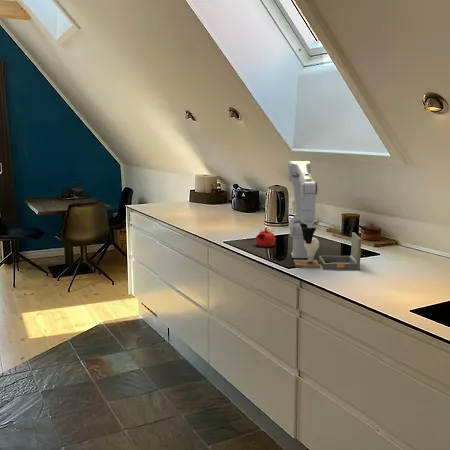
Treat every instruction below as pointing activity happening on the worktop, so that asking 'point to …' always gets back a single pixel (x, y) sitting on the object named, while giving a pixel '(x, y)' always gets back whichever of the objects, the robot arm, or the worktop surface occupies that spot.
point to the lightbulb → (311, 249)
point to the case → (344, 257)
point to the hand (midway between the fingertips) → (307, 241)
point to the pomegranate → (265, 238)
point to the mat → (306, 264)
